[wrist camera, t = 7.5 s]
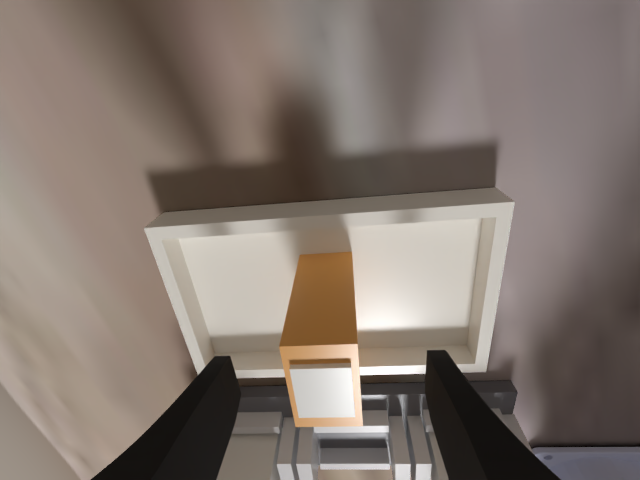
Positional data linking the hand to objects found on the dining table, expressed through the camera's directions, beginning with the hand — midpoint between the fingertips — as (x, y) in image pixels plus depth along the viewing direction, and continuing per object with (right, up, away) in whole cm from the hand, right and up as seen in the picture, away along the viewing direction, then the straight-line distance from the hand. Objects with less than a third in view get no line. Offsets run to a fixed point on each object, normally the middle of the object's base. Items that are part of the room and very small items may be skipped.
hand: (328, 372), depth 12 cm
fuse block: (+2, -7, +10) cm, 12 cm away
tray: (0, +3, +5) cm, 6 cm away
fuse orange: (0, +2, +4) cm, 5 cm away
